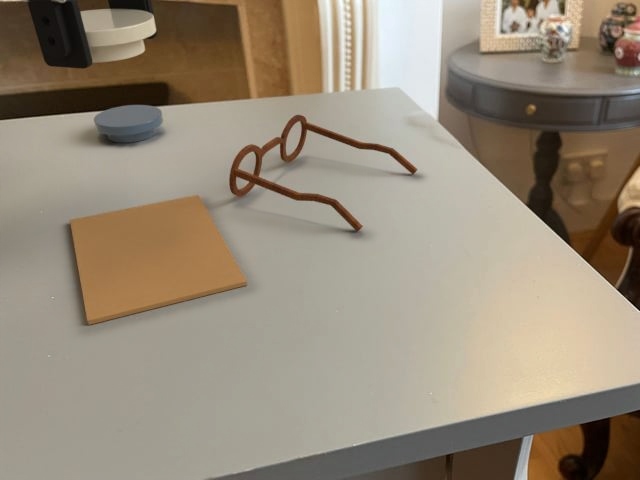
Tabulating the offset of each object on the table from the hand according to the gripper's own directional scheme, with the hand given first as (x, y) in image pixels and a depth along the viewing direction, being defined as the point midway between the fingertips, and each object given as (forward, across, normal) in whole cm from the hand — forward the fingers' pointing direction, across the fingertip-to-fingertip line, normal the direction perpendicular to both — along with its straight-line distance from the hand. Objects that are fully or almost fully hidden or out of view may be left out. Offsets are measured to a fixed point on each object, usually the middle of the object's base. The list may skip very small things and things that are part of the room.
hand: (105, 48), depth 45 cm
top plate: (0, 0, 0) cm, 0 cm away
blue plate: (+15, -21, -15) cm, 30 cm away
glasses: (+15, -12, +11) cm, 23 cm away
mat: (+15, +2, +1) cm, 15 cm away
